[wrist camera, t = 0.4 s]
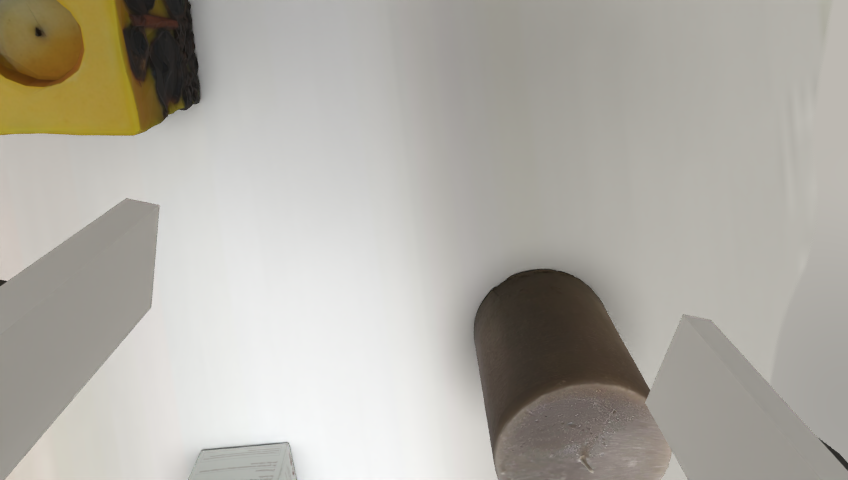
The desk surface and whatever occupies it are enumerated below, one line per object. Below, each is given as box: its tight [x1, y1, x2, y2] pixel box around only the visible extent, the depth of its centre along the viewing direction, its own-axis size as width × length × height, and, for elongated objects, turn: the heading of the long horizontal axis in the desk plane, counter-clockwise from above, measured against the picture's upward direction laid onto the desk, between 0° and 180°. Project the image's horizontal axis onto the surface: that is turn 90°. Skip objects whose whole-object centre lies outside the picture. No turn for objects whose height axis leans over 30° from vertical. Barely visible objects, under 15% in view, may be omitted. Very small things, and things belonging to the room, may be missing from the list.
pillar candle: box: [474, 270, 672, 480], centre depth 39 cm, size 10×10×15 cm
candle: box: [0, 0, 200, 135], centre depth 33 cm, size 10×10×10 cm
